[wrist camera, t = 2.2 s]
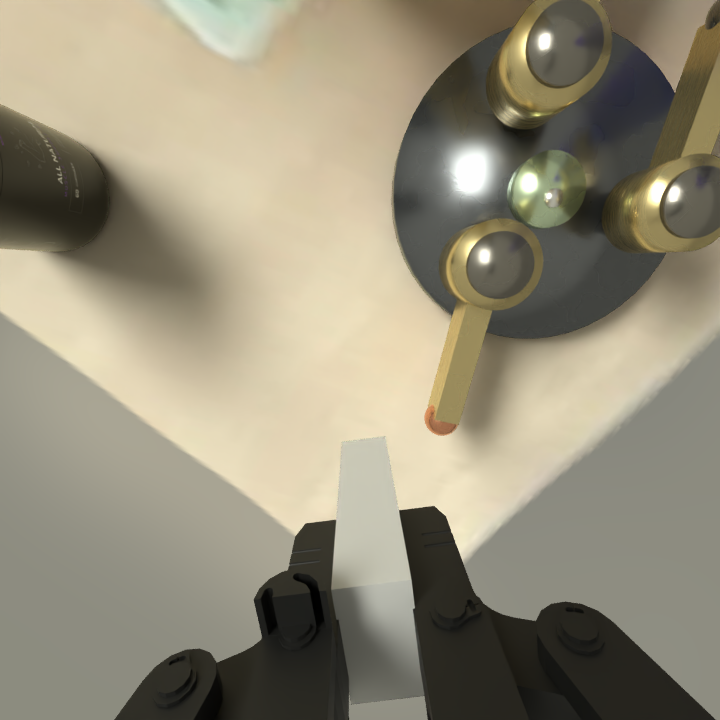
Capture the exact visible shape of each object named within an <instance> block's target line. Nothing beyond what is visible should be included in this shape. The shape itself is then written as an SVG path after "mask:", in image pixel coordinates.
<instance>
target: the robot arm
mask: <svg viewBox="0 0 720 720" xmlns="http://www.w3.org/2000/svg"><path fill="white" fill-rule="evenodd" d="M289 564H290V566H289V568H288V571H284V572H281V573H279V574H278V575H276V576H274V577H272V578H270V579H269V580H268V581H267V582H266V583H265V584H264V585H263V586H262V587H261V588H260V589H259V591H258V592H257V594H256V596H255V598H254V603H255V607H256V612H257V616H258V621H259V624H260V629H261V634H262V639H261V640H260V641H259V642H258V643H257V644H255V645H254V646H253V647H251V648H249V649H247V650H246V651H243V652H241V653H239V654H237V655H234V656H232V657H229V658H227V659H225V660H222V661H220V662H218V663H216V661H215V660H214V658H213V656H212V655H211V653H210V652H207V651H205V650H202V649H190V650H184V651H182V652H179V653H177V654H174V655H172V656H170V657H169V658H167V659H166V660H164V661H163V662H161V663H160V664H159V665H157V666H156V667H155V668H154V669H153V670H152V671H151V672H150V673H149V675H148V676H147V677H146V678H145V679H144V680H143V681H142V683H141V684H140V685H139V687H138V688H137V690H136V691H135V692H134V694H133V695H132V696H131V698H130V699H129V700H128V702H127V703H126V705H125V706H124V707H123V709H122V710H121V711H120V713H119V714H118V715H117V717H116V718H115V720H349V716H348V715H349V713H348V712H349V695H350V700H351V705H352V704H360V703H368V702H377V701H385V700H394V699H403V698H410V697H420V696H425V702H426V708H427V717H428V720H715V719H714V718H713V717H712V716H711V715H710V714H709V713H708V712H707V711H706V710H705V709H704V708H703V707H702V706H701V705H700V704H699V703H698V702H696V701H695V700H694V699H693V698H692V697H691V696H690V695H689V694H688V693H687V692H686V691H685V690H684V689H683V688H681V686H680V685H678V683H677V682H675V681H674V680H673V679H672V678H671V677H670V676H669V675H668V674H667V673H666V672H665V671H664V670H663V669H662V668H661V667H660V666H659V665H658V664H656V663H655V662H654V661H653V660H652V659H651V658H650V657H649V656H648V655H647V654H646V653H645V652H644V651H643V650H642V649H641V648H640V647H639V646H638V645H636V644H635V643H634V642H633V641H632V640H631V639H630V638H629V637H628V636H627V635H626V634H625V633H624V632H623V631H622V630H621V629H620V628H619V627H617V625H616V624H614V623H613V622H612V621H611V620H610V619H608V618H607V617H606V616H604V615H603V614H601V613H600V612H599V611H597V610H595V609H592V608H590V607H587V606H585V605H583V604H578V603H571V602H560V603H554V604H551V605H549V606H547V607H546V608H544V609H543V610H541V612H540V614H539V616H538V618H537V620H536V621H532V620H525V619H518V618H513V617H510V616H506V615H502V614H500V613H498V612H496V611H494V610H492V609H490V608H489V607H487V606H486V605H485V604H483V602H482V601H481V600H480V598H479V597H477V596H476V594H475V593H474V591H473V589H472V586H471V584H470V581H469V578H468V575H467V573H466V570H465V567H464V565H463V562H462V559H461V556H460V554H459V551H458V548H457V546H456V544H455V540H454V537H453V535H452V533H451V529H450V526H449V524H448V521H447V518H446V516H445V515H444V514H442V513H441V512H440V511H439V510H438V509H437V508H436V507H435V506H431V507H423V508H415V509H407V510H399V509H398V503H397V498H396V492H395V487H394V481H393V476H392V470H391V465H390V459H389V454H388V448H387V443H386V438H385V436H384V437H376V438H368V439H360V440H353V441H345V442H342V449H341V462H340V476H339V489H338V503H337V517H336V520H330V521H322V522H315V523H307V524H305V525H304V526H303V528H302V529H301V530H300V531H299V533H298V534H297V535H296V537H295V541H294V545H293V550H292V555H291V559H290V563H289Z"/></svg>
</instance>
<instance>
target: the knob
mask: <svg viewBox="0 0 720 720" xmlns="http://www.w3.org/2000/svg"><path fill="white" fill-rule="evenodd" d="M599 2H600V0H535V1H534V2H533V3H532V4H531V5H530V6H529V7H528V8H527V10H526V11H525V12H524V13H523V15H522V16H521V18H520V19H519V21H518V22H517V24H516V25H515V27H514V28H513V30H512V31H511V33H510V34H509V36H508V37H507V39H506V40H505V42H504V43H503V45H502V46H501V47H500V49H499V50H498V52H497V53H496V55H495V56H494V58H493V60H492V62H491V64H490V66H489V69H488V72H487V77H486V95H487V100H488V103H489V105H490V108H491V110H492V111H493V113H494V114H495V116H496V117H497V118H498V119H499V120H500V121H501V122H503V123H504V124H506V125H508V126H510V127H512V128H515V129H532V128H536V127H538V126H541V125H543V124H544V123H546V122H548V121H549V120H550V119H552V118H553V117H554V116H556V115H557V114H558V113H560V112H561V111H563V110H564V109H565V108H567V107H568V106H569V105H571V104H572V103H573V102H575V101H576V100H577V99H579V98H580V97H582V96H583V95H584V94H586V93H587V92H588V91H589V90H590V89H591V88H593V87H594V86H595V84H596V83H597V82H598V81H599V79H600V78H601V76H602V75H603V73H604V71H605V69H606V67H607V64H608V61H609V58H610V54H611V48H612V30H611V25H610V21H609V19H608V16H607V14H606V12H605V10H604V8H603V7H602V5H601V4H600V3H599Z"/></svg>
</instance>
